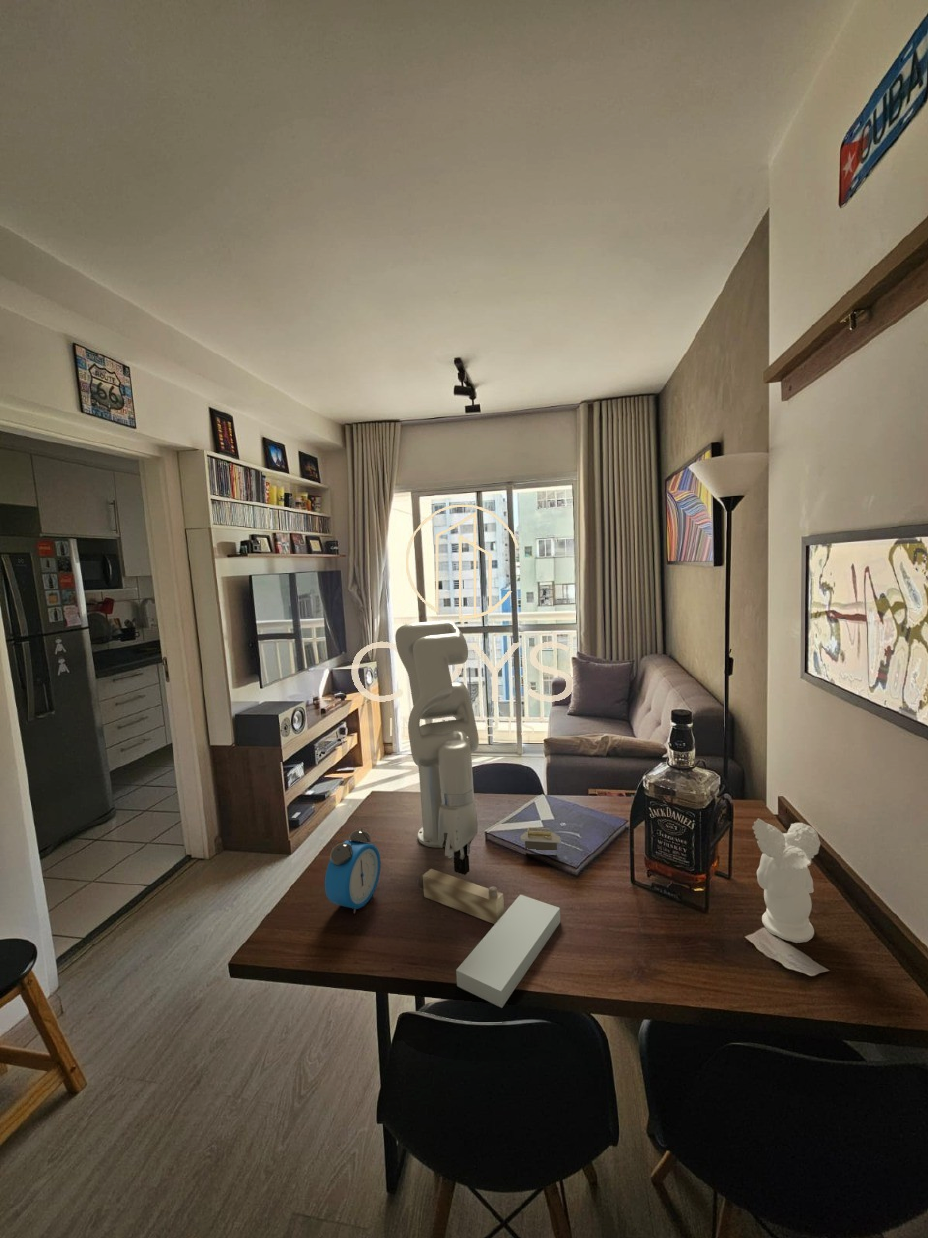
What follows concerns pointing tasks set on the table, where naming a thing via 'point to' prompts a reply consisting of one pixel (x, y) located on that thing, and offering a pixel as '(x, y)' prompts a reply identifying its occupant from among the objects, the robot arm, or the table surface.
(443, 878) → the hinged leg
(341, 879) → the alarm clock
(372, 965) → the table surface
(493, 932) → the rail
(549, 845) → the platform
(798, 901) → the cherub figurine
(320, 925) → the table surface
